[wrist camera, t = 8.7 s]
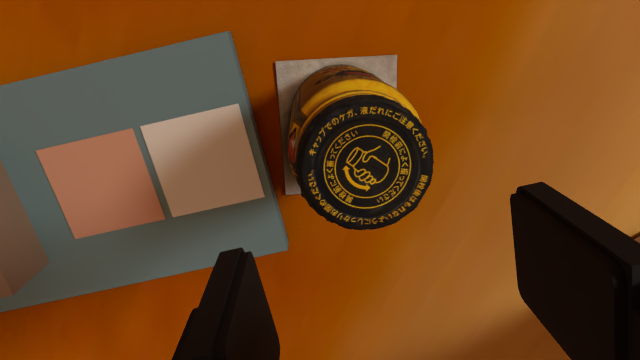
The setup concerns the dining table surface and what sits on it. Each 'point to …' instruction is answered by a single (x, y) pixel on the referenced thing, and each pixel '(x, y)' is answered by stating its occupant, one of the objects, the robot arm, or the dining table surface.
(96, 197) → the board
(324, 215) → the condiment
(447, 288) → the dining table surface
